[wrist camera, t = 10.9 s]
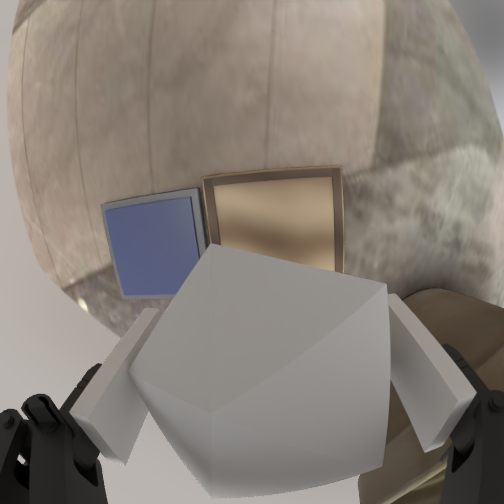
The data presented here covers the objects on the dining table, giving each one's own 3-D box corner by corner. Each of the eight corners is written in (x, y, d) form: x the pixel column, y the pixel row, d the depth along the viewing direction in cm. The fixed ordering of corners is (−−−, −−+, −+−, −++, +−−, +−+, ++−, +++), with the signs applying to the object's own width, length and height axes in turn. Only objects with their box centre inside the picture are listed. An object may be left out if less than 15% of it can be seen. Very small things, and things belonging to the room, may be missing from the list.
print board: (203, 176, 25) (200, 177, 24) (339, 165, 24) (342, 165, 23) (220, 301, 29) (219, 305, 28) (341, 291, 28) (344, 294, 27)
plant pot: (355, 422, 35) (383, 534, 14) (292, 315, 29) (320, 514, 8) (481, 347, 30) (547, 428, 9) (469, 212, 24) (610, 276, 4)
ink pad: (104, 203, 26) (98, 205, 25) (199, 187, 25) (196, 188, 24) (125, 296, 29) (120, 300, 28) (214, 293, 28) (212, 298, 27)
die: (221, 390, 15) (337, 507, 7) (82, 349, 9) (179, 587, 2) (302, 276, 16) (458, 359, 8) (188, 177, 10) (498, 265, 2)
